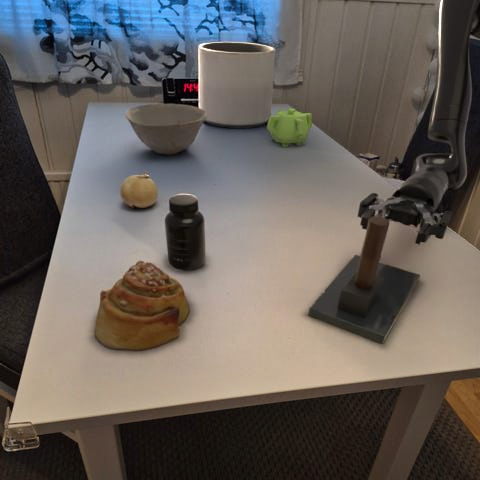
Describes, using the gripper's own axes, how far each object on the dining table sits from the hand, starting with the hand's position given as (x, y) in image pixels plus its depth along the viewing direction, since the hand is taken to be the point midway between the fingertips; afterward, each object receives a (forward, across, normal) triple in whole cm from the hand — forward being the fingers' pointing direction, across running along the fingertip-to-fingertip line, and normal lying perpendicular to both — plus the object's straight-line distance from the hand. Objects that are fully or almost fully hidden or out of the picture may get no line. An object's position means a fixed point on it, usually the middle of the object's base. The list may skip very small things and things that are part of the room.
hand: (391, 231), depth 69 cm
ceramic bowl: (-35, -74, +11) cm, 83 cm away
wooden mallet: (+8, -1, +10) cm, 12 cm away
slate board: (+3, 0, +11) cm, 12 cm away
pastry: (+28, -27, +11) cm, 41 cm away
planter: (-75, -76, +10) cm, 108 cm away
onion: (-2, -55, +11) cm, 56 cm away
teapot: (-64, -50, +11) cm, 82 cm away
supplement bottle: (+11, -32, +11) cm, 35 cm away
